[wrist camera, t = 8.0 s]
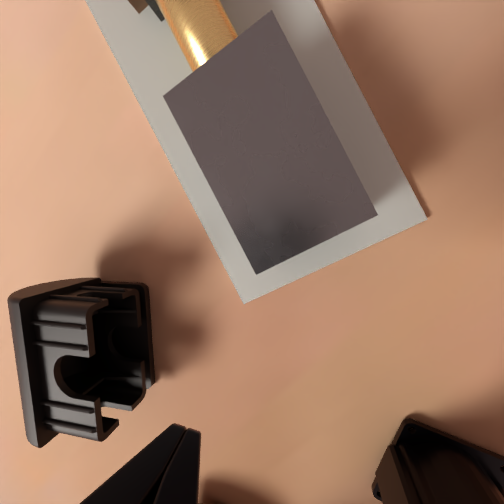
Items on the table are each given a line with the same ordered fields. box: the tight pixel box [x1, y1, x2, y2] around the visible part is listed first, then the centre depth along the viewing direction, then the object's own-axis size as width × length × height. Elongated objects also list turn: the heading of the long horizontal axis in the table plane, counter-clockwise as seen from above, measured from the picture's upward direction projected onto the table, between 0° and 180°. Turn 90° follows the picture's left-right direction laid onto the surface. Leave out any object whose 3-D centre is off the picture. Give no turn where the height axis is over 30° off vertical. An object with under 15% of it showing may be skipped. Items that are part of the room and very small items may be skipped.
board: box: [85, 0, 427, 304], centre depth 17 cm, size 30×13×1 cm, turn 29°
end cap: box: [7, 278, 155, 448], centre depth 19 cm, size 10×7×7 cm
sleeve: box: [163, 10, 378, 275], centre depth 15 cm, size 10×6×5 cm, turn 29°
